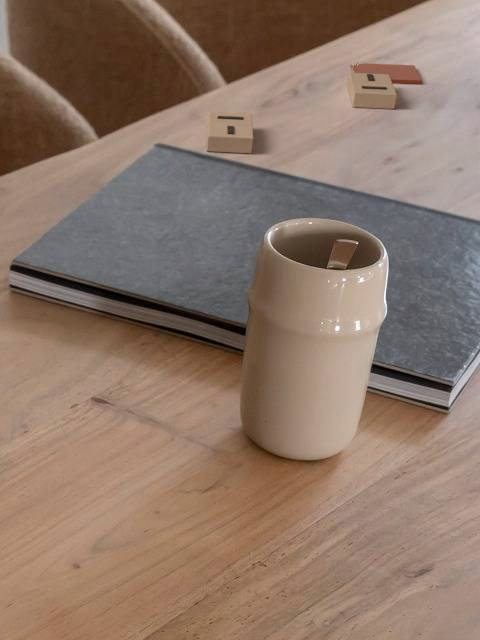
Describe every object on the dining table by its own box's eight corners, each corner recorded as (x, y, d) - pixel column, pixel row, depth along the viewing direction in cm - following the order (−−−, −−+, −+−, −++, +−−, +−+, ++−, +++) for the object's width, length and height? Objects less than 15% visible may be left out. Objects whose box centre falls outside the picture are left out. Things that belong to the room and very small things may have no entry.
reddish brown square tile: (413, 68, 134) (414, 65, 134) (420, 84, 129) (421, 80, 129) (350, 66, 135) (351, 62, 135) (355, 81, 130) (355, 77, 130)
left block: (249, 128, 118) (252, 112, 117) (251, 153, 112) (253, 136, 111) (206, 126, 118) (208, 110, 118) (206, 151, 113) (208, 134, 112)
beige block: (386, 88, 128) (389, 72, 128) (394, 109, 123) (397, 93, 122) (346, 86, 129) (349, 71, 128) (352, 107, 123) (355, 91, 122)
